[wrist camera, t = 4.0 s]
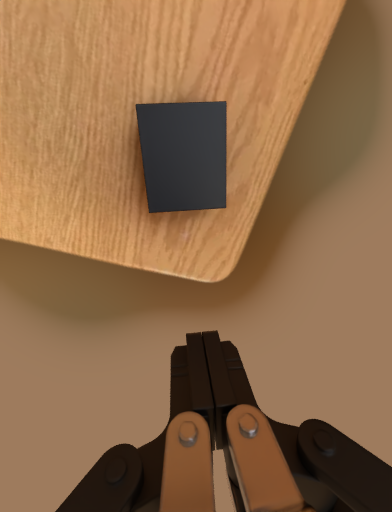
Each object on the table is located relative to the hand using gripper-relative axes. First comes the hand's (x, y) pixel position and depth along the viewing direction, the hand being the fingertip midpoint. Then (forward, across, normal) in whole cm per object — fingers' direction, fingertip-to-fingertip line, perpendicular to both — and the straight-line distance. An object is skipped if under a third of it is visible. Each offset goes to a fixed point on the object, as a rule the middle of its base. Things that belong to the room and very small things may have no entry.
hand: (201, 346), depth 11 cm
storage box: (+11, 0, -8) cm, 14 cm away
